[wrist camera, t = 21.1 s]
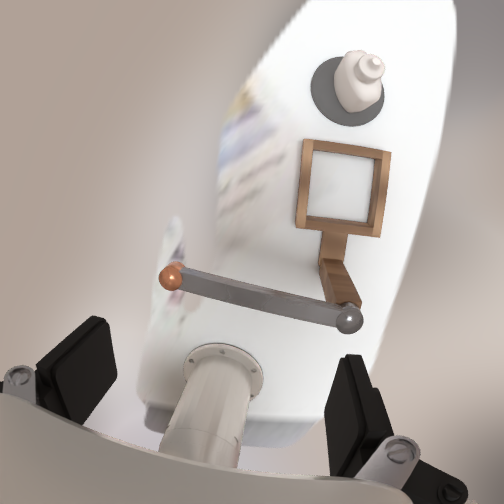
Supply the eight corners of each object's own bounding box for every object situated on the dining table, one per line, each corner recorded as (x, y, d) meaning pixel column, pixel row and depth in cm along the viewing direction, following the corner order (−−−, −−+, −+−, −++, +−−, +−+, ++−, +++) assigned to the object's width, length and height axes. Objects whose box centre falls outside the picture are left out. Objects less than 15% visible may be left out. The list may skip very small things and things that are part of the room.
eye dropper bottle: (370, 77, 29) (405, 45, 18) (360, 117, 31) (394, 99, 20) (336, 65, 30) (357, 26, 18) (325, 106, 31) (344, 80, 20)
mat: (381, 132, 32) (382, 131, 31) (308, 120, 33) (309, 120, 32) (383, 65, 29) (384, 64, 29) (312, 53, 30) (313, 51, 29)
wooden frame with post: (364, 277, 38) (393, 327, 26) (289, 270, 38) (290, 319, 26) (383, 152, 33) (427, 151, 21) (302, 140, 33) (311, 129, 21)
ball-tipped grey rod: (363, 304, 25) (368, 314, 23) (354, 327, 26) (358, 337, 24) (168, 256, 26) (160, 263, 24) (165, 281, 27) (157, 289, 25)
